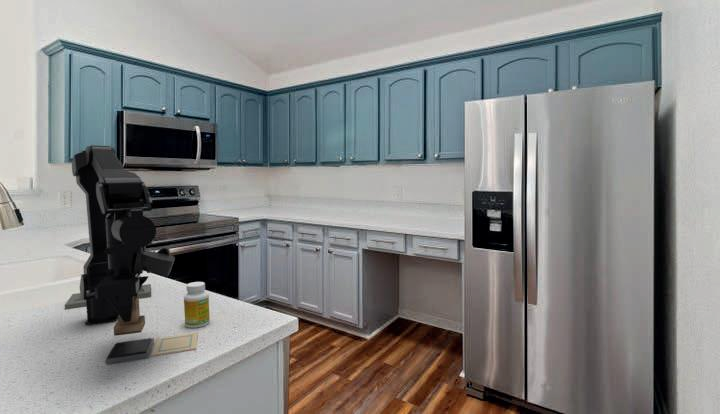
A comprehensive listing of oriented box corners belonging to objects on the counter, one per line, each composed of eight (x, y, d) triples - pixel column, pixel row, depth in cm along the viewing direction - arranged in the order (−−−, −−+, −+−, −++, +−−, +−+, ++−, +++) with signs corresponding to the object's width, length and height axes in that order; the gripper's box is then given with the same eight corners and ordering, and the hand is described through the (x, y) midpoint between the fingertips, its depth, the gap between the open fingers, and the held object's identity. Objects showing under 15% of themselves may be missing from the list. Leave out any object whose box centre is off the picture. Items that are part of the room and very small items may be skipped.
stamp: (114, 335, 72) (112, 303, 71) (119, 326, 76) (117, 296, 75) (141, 332, 73) (139, 301, 73) (145, 323, 78) (143, 294, 77)
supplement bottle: (200, 329, 86) (198, 288, 85) (179, 327, 87) (178, 286, 87) (214, 320, 92) (212, 281, 91) (194, 318, 93) (192, 280, 92)
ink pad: (106, 364, 70) (105, 357, 70) (115, 348, 77) (114, 342, 77) (148, 357, 73) (147, 351, 73) (153, 342, 79) (153, 336, 79)
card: (151, 356, 74) (151, 354, 74) (157, 339, 81) (157, 337, 81) (196, 349, 76) (195, 347, 76) (197, 333, 84) (197, 332, 84)
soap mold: (72, 300, 108) (71, 288, 108) (151, 290, 118) (150, 279, 117) (64, 312, 99) (63, 299, 99) (151, 299, 109) (150, 287, 108)
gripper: (164, 246, 67) (169, 330, 69) (175, 231, 84) (178, 298, 86) (90, 251, 63) (96, 340, 65) (117, 234, 81) (122, 304, 82)
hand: (129, 318), depth 74 cm, fingers closed on stamp, 3 cm apart
